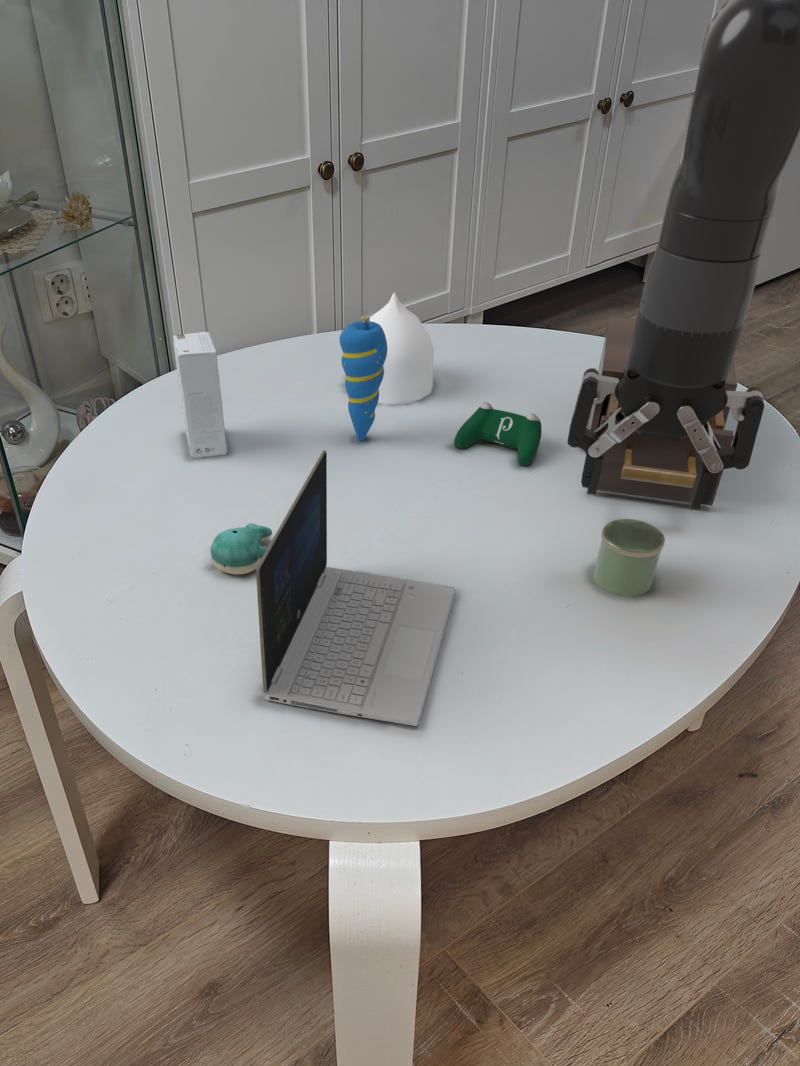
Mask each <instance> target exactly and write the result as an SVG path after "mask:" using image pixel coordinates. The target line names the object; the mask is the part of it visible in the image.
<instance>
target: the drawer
mask: <svg viewBox="0 0 800 1066" xmlns="http://www.w3.org/2000/svg"><path fill="white" fill-rule="evenodd" d="M619 408H620V405H619V403H618V401H617V399H616V397H615V393H611V394H608V398H607V403H606V407H605V412H604V416H602V418H601V423H600V426H601V425H602V424H604V423H605V422H606V421H607V420H608V419H609V417H610V416H611V415H612V414H613V413H614V412H615V411H616V410H618V409H619ZM708 422H709V424H710V426H711V428H712V431H713V434H714V436H715V438H716V440H717V442H718V444H719V446H720V448H724V447H730V446H732V444H733V440H734V436H735V431H734V430H729V429H725V427H726V424H725V425H724V415H723V410H722V411H721V412H719V413H718V414H717V415H716V416H714V417H713V418H712V419H711V420H709V421H708ZM724 426H725V427H724ZM701 460H703V459H702V458H701V456H700V454H699V453H698V452H697V451H696V449H695V447H694V445H693V443H692V441H691V439H690V437H689V436H688V437H686V438H682V439H680V441H673V440H668V439H666V438H663V437H650V438H649V437H641V436H640V434H639V433H637V432H636V431H634V432H632V433H631V434H630V435H629V436H628V437H626V438H625V439H624V440H623V441H621V442H620V443H616V444H614V445H613V446H612V447H611V448H609V449H608V450H607V451H606V452H604V459H603V464H602V468H601V473H600V477H599V482H598V486H597V490H596V491H598V492H599V491H600V492H606V493H607V492H608V493H614V494H621V495H630V496H636V497H644V498H650V499H657V500H658V499H659V500H666V501H673V502H679V503H688V504H690V496H691V492H692V489H693V485H694V482H695V479H696V475H697V472H698V469H699V466H700V462H701ZM723 473H724V470H723V471H721V472H720V474H719V476H718V479H717V482H716V486H715V489H714V492H713V495H712V498H711V500H710V502H709V503H708V504H707V505H705V504H701V506H702V505H703V506H710V507H713V504H714V501H715V499H716V495H717V492H718V488H719V485H720V482H721V479H722V476H723ZM586 489H587V490H588V488H586Z"/></svg>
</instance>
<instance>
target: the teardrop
mask: <svg viewBox="0 0 800 1066" xmlns="http://www.w3.org/2000/svg"><path fill="white" fill-rule="evenodd" d="M369 317H370V321H372V322H375V323H378V324H379V325H380V326H381V327H382V329H383V331H384V333H385V336H386V341H387V356H386V360H385V362H384V365H383V367H384V377H383V380H382V382H381V385H380V387H379V399H378V403H377V404H385V405H402V404H403V405H404V404H410V403H414V402H418V401H420V400H421V399H424V398H425V397H427V396H428V395H430V394H431V393H432V390H433V388H434V352H435V351H434V346H433V342H432V338H431V336H430V334H429V332H428V331H427V330H426V328H425V326H424V325H423V323H422V322H421V320H420V319H419V317H418V316H417V315H416V314H414V313H413V312H412V311H409V309H408V308H407V307H405V306H404V305H403V303H401V302H400V300H399V298H398V296H397V293H396V292H395V291H393V293H392V295H391V297H390V299H389V301H388V302H387V303H386V304H385V305H384V306H383V307H382V308H381V309H379V310H378V311H376V312H375V313H374V314H372V315H371V316H369Z"/></svg>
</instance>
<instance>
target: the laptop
mask: <svg viewBox="0 0 800 1066" xmlns="http://www.w3.org/2000/svg"><path fill="white" fill-rule="evenodd" d="M327 457H328V455H327V451H326V450H325V449H323V450H322V451H321V453H320V455H319V457H318V458H317V460H316V462H315V464H314V465H313V467H312V469H311V471H310V472H309V474H308V475H307V478H306V479H305V481H304V482H303V485H302V487H301V489H300V490H299V492H298V493H297V495H296V497H295V499H294V501H293V503H292V504H291V506H290V507H289V509H288V511H287V512H286V515H285V516H284V518H283V520H282V521H281V523H280V525H279V527H278V529H277V531H276V532H275V534H274V536H273V538H272V539H271V541H270V543H269V545H268V546H267V547H268V548H267V550H266V552H265V553H264V555H263V557H262V559H261V560H260V562H259V564H258V566H257V568H256V569H255V576H256V594H257V611H258V623H259V624H258V626H259V639H260V640H259V643H260V645H259V646H260V659H261V661H260V662H261V675H262V676H261V677H262V691H263V692H262V693H263V694H265V693H266V695H265V700H266V701H270V702H276V703H279V704H285V705H290V706H296V707H301V708H307V709H311V710H319V711H323V712H330V713H336V714H340V715H347V716H353V717H358V718H363V719H364V718H365V719H371V720H375V721H376V720H377V721H383V722H388V723H396V724H400V725H407V726H414V727H418V726H419V724H420V721H421V717H422V714H423V710H424V706H425V703H426V699H427V697H428V691H429V688H430V685H431V681H432V677H433V674H434V670H435V666H436V663H437V659H438V655H439V652H440V649H441V645H442V642H443V638H444V634H445V630H446V627H447V623H448V620H449V615H450V612H451V609H452V605H453V602H454V598H455V593H456V588H455V587H453V586H449V585H443V584H436V583H430V582H425V581H418V580H417V581H416V580H412V579H406V578H398V577H393V576H385V575H381V574H373V573H368V572H363V571H362V572H361V571H355V570H348V569H341V568H338V567H337V568H336V567H329V566H327V563H328V517H327V516H328V514H327V513H328V502H327V501H328V498H327V497H328V496H327V495H328V493H327V491H328V488H327V487H328V486H327V485H328V483H327V482H328V480H327V479H328V478H327V466H328V465H327V464H328V463H327V460H328V459H327Z"/></svg>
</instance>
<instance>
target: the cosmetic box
mask: <svg viewBox="0 0 800 1066" xmlns="http://www.w3.org/2000/svg"><path fill="white" fill-rule="evenodd" d="M172 343H173V349H174V359H175V365H176V370H177V371H176V373H177V379H178V385H179V393H180V398H181V405H182V413H183V420H184V428H185V433H186V439H187V443H188V444H187V445H188V447H189V452H190V456H191V458H193V459H199V458H208V457H209V458H210V457H218V456H227V453H228V445H227V437H226V428H225V419H224V410H223V400H222V392H221V383H220V374H219V366H218V353H217V350H216V347H215V344H214V342H213V339H212V336H211V334H210V332H209V331H200V332H193V333H184V334H177V335H173V336H172Z"/></svg>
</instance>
